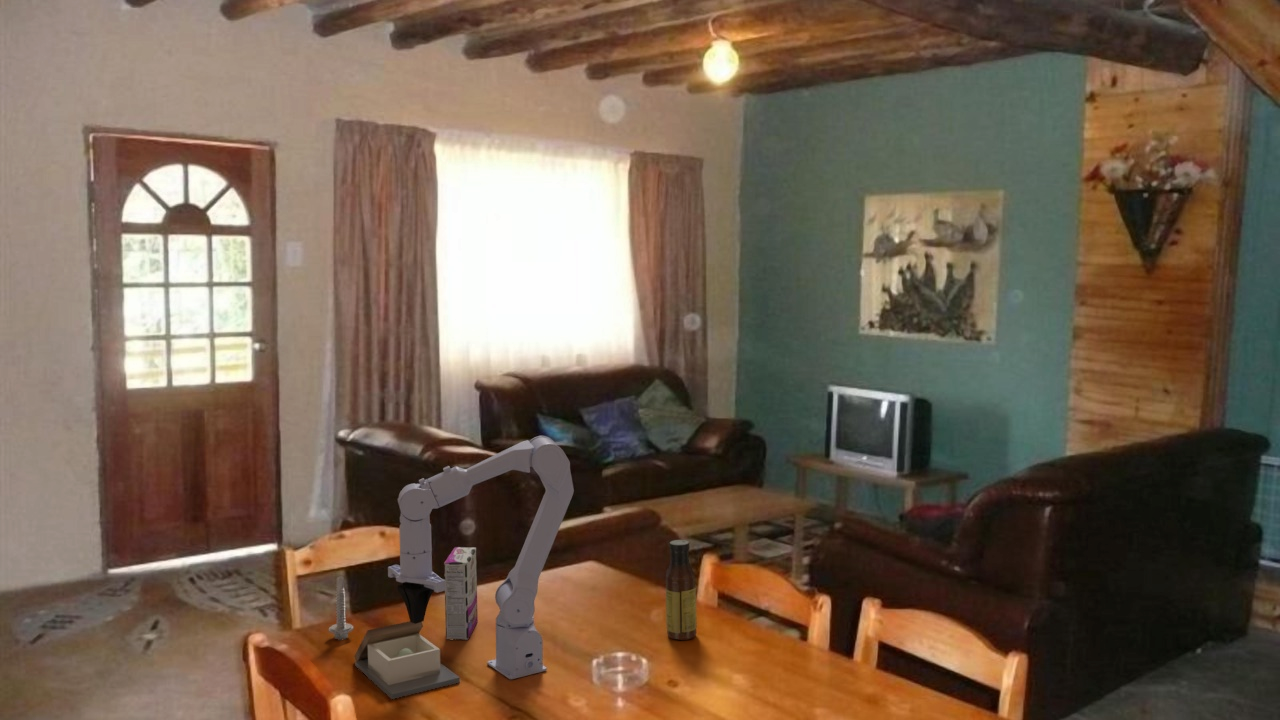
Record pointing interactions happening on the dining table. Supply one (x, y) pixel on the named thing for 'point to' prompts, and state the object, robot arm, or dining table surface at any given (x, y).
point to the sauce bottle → (680, 593)
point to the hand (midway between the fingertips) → (417, 621)
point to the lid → (385, 636)
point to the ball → (404, 652)
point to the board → (410, 681)
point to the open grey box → (403, 658)
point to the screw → (340, 614)
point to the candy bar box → (460, 593)
